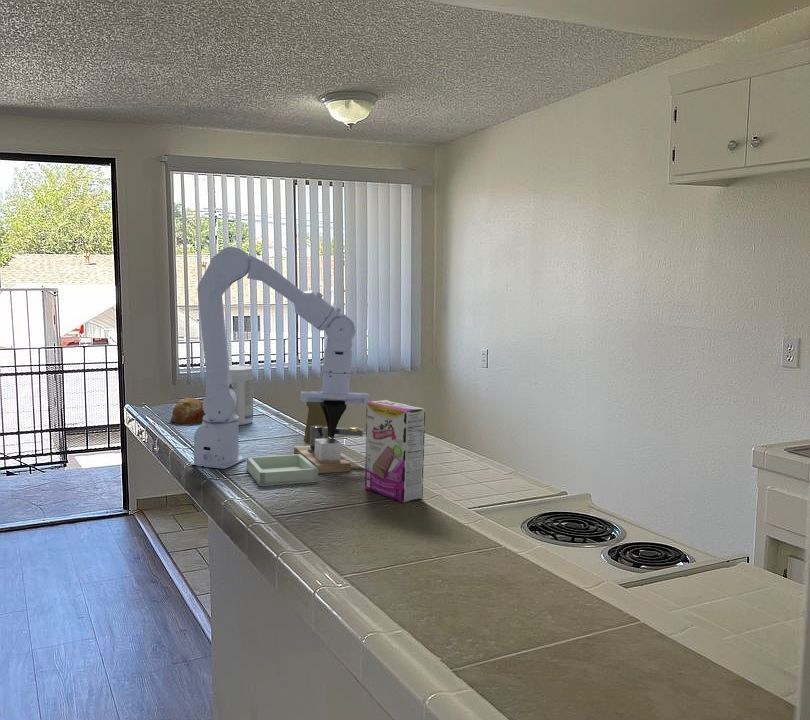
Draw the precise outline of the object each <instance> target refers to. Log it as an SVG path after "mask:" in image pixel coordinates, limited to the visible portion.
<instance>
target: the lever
mask: <svg viewBox="0 0 810 720" xmlns="http://www.w3.org/2000/svg"><path fill="white" fill-rule="evenodd" d="M324 434H328V427H324V426H311V427H310V442H309V446H310V449H314V450H315V439H324ZM335 435H337V436H338V435H339V436H354V437H364V435H365V428H360V427H356V426H352V427H351V426H350V427H341V426H340V427H339V426H338V427H336V430H335Z"/></svg>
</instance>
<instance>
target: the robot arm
mask: <svg viewBox="0 0 810 720" xmlns="http://www.w3.org/2000/svg"><path fill="white" fill-rule="evenodd" d="M244 277H246V279H248V280H255V281H258V282H259V281H260V282H263V283H264V284H265V285H267V286H269V287H270V288H271V289H273V290H274V291H275V292H277V293H278V294H280V295H281V296H282V297H284V298H285V299H287V300H288V301H290V302H291V303H292V304H293V305H294V313H295V314H296V315H298V316H299V317H301V318H302V319H303V320H304V321H306V322H307V323H309V324H311V326H313V327H314V328H316V329H317V330H318V331H320V332H321V331H323V332H325V335H326V343H325V344H326V345H325V346H326V347H325V349H324V356H323V367H322V368H323V371H322V383H321V390H315V391H314V390H312V391H300V394H299V395H300V396H299V401H300V402H301V403H306V402H320V405H321V407H322V410H323V412H324V415H325V418H326V422H327V427H328V436H329V438H335V435H336V434H335V430H336V427H337V426H338V424H339V422H340V420H341V418H342V416H343V414H344V413H345V411H346V410H347V404H346V403H351V404H352V403H355V404H356V403H357V404H358V403H359V404H361V403H362V404H367V402H370V394H369V393H367V392H350V385H351V372H352V360H353V350H352V348H353V339H354V337H355V336H356V327H355V324H354V321H352V319H351V318H350V317H348V316H347V315H346V314H345V313H341V312H342V309H341V308H339V307H335V306H333V305H332V304H331V303H329V302H328V301H327V300H325V299H324V298H323V297H324V295H323V294H322V293H321V292H319V291H318V292H315V291H313V290H307V291H303V290H301V289H300V288H298V287H297V286H296V285H294V283H292V282H291V281H289V280H288V279H287V278H286V277H285V276H284V275H282V274H281V273H279V272H278V271H277V270H276V269H274V268H273V267H272V266H271V265H269V264H268V263H266V262H265V261H263V260H261V259H259V258H257V257H255V256H253V255H251V254H249V253H247V252H246V251H245V250H243V249H241V248H240V247H237V246H232V245H231V246H227V247H224V248H222V249H221V250H219V252H218V253H216V254H215V255H214V256H213V257H212V258H211V260H210V262H209V264H208V266H207V268H206V270H205V272H204V273H203V275H202V276H201V279H200V281H199V283H198V284H197V289H196V290H197V300H198V309H199V317H200V327H201V337H202V346H203V356H204V366H205V374H206V375H205V397H204V399H203V410H204V413H205V414H206V415H204V416H203V422H202V423H201V425H200V426H199V427H198V428H197V429H196V431H195V432H194V435H193V461H192V462H190V463H189V465H190V466H192V465H198V466H197V467H202V466H204V468H214V469H222V470H223V469H228V468H230V467H233V466H234V465H237V464H238V463H240V462H243V461H245V460H247V456H241V455H239V450H240V449H239V444H240V442H239V438H240V437H239V433H240V431H239V429H240V428H239V426H240V425H239V416H237V415H236V414H235V412H234V410H235V408H236V406H237V404H238V394H237V392H236V391H235V389H234V388H233V385H232V379H231V374H230V369H229V366H230V363H229V362H230V361H229V350H228V341H227V340H228V339H227V333H226V331H227V330H226V323H225V313H224V312H225V310H224V302H223V295H224V294H225V292H226V291H227V290H228V289H229V288H231V286H232V284H234V283H235V282H237V281H240V280H241V279H242V278H244Z"/></svg>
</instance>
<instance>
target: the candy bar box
mask: <svg viewBox="0 0 810 720" xmlns="http://www.w3.org/2000/svg"><path fill="white" fill-rule="evenodd" d="M365 419H366V420H365V424H366V425H365V428H366V429H365V469H364V473H365V474H364V475H365V477H364V489H365V490H368V491H371V492H374V493H376V494H379V495H382V496H384V497H386V498H390V499H392V500H395V501H398V502H400V503H404V504H405V503H410V502H414V501H417V500H422V499H423V497H424V495H423V494H424V493H423V492H424V460H425V458H424V457H425V433H426V432H425V431H426V429H425V428H426V426H425V425H426V408H423V407H419V406H415V405H410V404H404V403H402V402H401V403H400V402H396V401H393V400H388V399H380V400H378V399H377V400H369V402H367V403H366V418H365Z"/></svg>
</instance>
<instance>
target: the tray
mask: <svg viewBox="0 0 810 720" xmlns="http://www.w3.org/2000/svg"><path fill="white" fill-rule="evenodd" d="M246 470H247V472H248V473H249V474H250V475H251V477H252V478H253V480H255V482H256V484H258V485H259V486H260V487H264V486H265V487H266V486H277V485H278V486H279V485H290V484H305V483H317V482H318V483H319V473H318V468H317V467H315V466H314V465H313V464H312V463H311V462H309V461H308V460H307V459H306V458H305V457H303V456H302V455H301V454H294V453H293V454H281V455H279V454H277V455H276V454H275V455H263V456H261V455H260V456H246Z"/></svg>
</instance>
